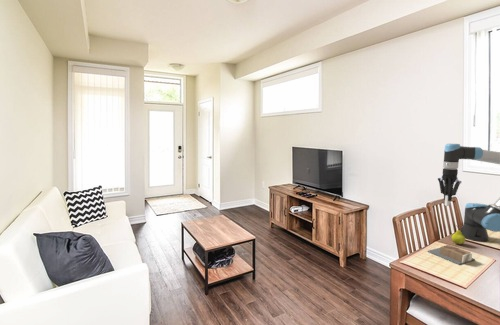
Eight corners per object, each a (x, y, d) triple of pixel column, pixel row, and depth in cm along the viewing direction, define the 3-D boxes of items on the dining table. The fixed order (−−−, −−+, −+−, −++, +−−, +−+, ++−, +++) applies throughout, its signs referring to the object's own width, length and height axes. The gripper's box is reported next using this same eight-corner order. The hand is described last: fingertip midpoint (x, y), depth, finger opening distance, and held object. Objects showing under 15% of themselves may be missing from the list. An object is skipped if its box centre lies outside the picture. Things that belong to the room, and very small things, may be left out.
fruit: (466, 244, 170) (468, 226, 169) (462, 247, 167) (464, 228, 165) (454, 241, 176) (455, 223, 175) (449, 243, 173) (450, 225, 171)
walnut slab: (449, 244, 159) (472, 253, 148) (448, 251, 160) (471, 260, 149) (440, 246, 156) (463, 255, 145) (439, 253, 157) (462, 262, 146)
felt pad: (442, 247, 166) (442, 246, 166) (474, 260, 150) (474, 259, 150) (427, 251, 160) (427, 250, 160) (458, 264, 145) (458, 263, 145)
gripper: (435, 167, 173) (432, 203, 175) (458, 170, 161) (454, 208, 163) (443, 166, 176) (440, 202, 178) (465, 169, 164) (462, 207, 166)
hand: (447, 205), depth 171 cm, fingers closed
